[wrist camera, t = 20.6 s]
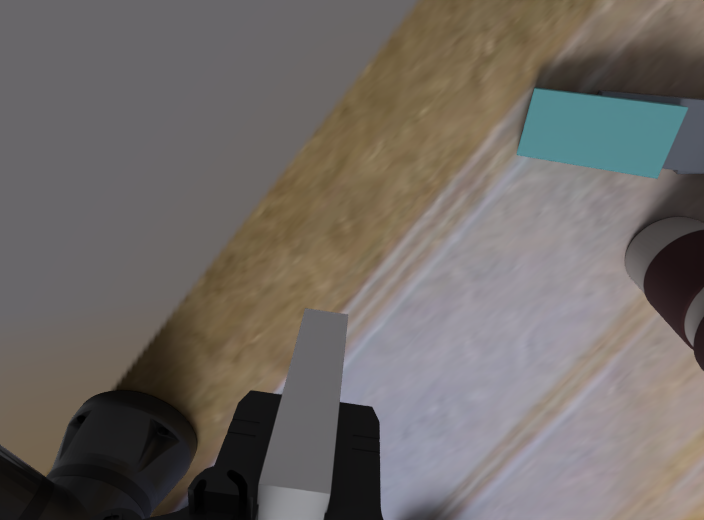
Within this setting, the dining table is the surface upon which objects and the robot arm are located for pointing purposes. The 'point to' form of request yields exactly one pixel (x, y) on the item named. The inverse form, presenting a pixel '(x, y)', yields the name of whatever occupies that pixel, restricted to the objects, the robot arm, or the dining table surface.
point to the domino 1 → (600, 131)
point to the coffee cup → (673, 275)
